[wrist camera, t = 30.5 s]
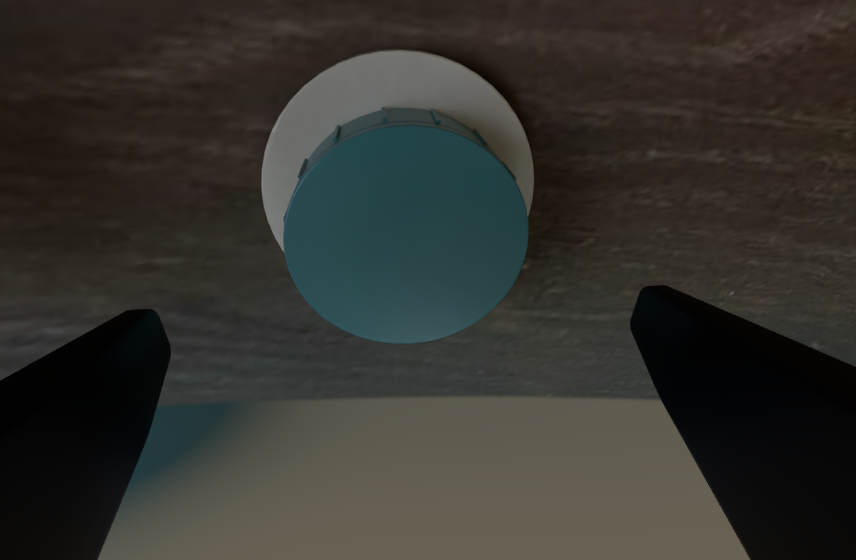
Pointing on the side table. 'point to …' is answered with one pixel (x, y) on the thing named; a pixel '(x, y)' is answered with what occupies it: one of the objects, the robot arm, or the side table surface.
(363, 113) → the saucer
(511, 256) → the lid
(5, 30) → the side table surface
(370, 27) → the side table surface
